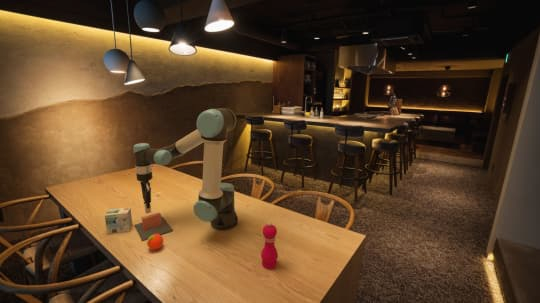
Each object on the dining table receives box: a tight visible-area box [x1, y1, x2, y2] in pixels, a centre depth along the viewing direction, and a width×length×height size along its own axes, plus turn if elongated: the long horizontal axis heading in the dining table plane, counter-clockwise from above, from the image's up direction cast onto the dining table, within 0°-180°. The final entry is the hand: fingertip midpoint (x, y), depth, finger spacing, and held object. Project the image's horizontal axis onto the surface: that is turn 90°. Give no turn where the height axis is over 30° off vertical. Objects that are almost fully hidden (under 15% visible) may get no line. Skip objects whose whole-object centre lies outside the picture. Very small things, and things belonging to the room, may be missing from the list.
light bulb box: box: [104, 207, 134, 235], centre depth 130 cm, size 11×7×11 cm, turn 105°
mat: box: [133, 216, 174, 242], centre depth 133 cm, size 18×15×1 cm
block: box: [141, 212, 162, 230], centre depth 132 cm, size 2×9×6 cm, turn 128°
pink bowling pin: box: [260, 221, 279, 270], centre depth 104 cm, size 7×7×20 cm
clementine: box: [145, 234, 164, 251], centre depth 115 cm, size 8×7×7 cm
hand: (148, 212), depth 137 cm, fingers closed
